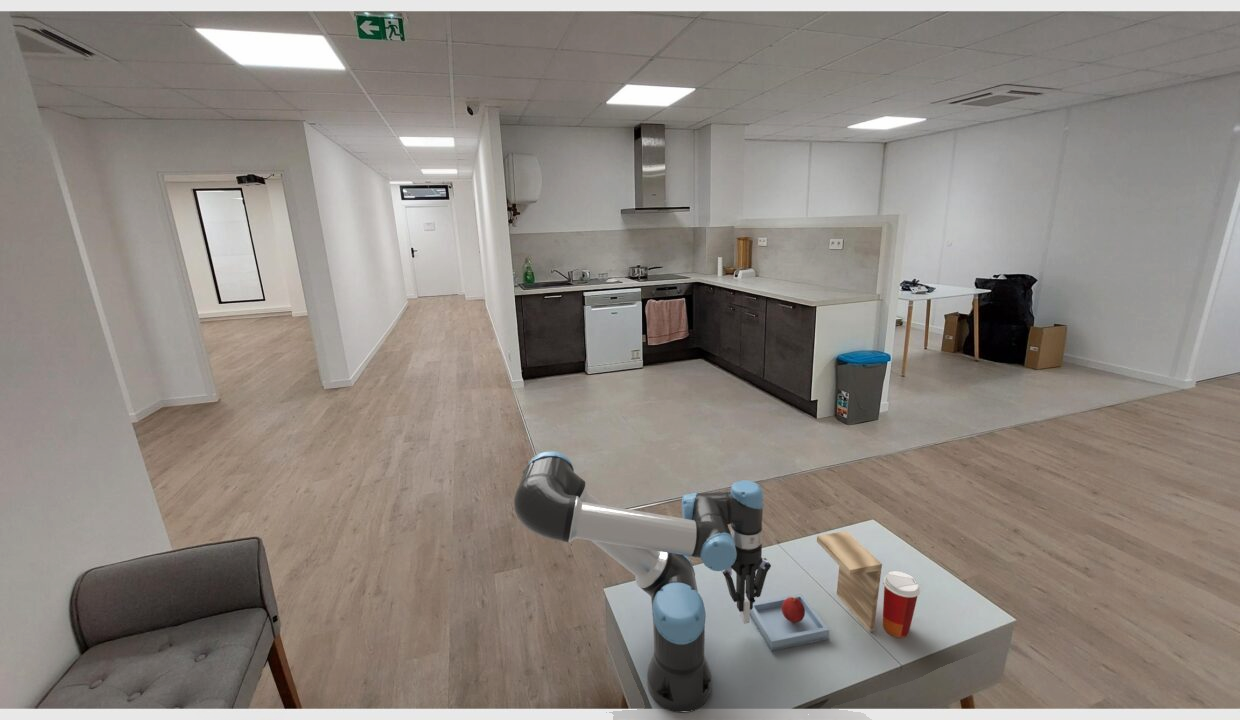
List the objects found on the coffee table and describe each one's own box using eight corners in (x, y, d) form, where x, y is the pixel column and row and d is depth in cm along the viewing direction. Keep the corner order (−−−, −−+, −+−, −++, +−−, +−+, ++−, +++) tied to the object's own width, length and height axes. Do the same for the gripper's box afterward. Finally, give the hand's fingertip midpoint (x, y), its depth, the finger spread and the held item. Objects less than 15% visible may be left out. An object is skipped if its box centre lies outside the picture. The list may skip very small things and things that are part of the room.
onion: (785, 609, 134) (787, 585, 132) (807, 619, 130) (809, 594, 128) (777, 623, 129) (779, 598, 127) (799, 633, 126) (801, 608, 124)
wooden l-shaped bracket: (842, 637, 125) (849, 569, 120) (812, 598, 139) (817, 536, 133) (873, 631, 127) (882, 564, 121) (840, 593, 140) (846, 531, 135)
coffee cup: (904, 617, 131) (911, 570, 127) (919, 642, 123) (927, 593, 119) (872, 615, 132) (877, 569, 128) (885, 640, 124) (891, 591, 120)
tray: (771, 651, 122) (771, 641, 122) (748, 612, 135) (748, 603, 134) (828, 639, 125) (829, 629, 124) (800, 602, 137) (801, 593, 137)
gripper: (727, 555, 115) (726, 635, 122) (778, 546, 118) (774, 625, 124) (715, 536, 122) (715, 613, 129) (763, 528, 125) (760, 604, 131)
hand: (744, 619), depth 126 cm, fingers closed
